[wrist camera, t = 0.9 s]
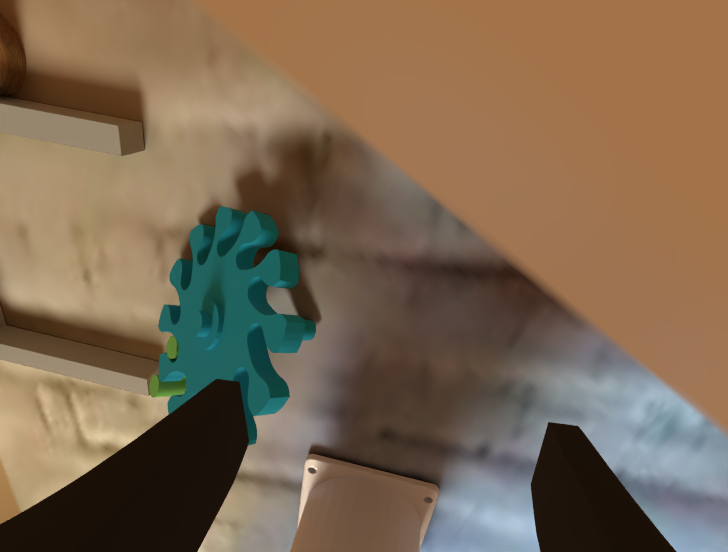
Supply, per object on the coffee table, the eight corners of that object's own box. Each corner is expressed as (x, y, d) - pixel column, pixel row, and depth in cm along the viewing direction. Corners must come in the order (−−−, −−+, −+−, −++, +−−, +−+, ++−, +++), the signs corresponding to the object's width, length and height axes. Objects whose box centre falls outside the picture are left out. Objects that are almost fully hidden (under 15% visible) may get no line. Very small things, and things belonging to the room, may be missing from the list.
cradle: (164, 378, 25) (117, 430, 21) (-11, 336, 26) (-85, 378, 22) (141, 122, 18) (68, 133, 15) (-93, 78, 19) (-215, 79, 16)
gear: (241, 149, 16) (300, 404, 12) (348, 193, 21) (419, 391, 16) (129, 288, 22) (141, 493, 18) (231, 300, 26) (260, 466, 22)
